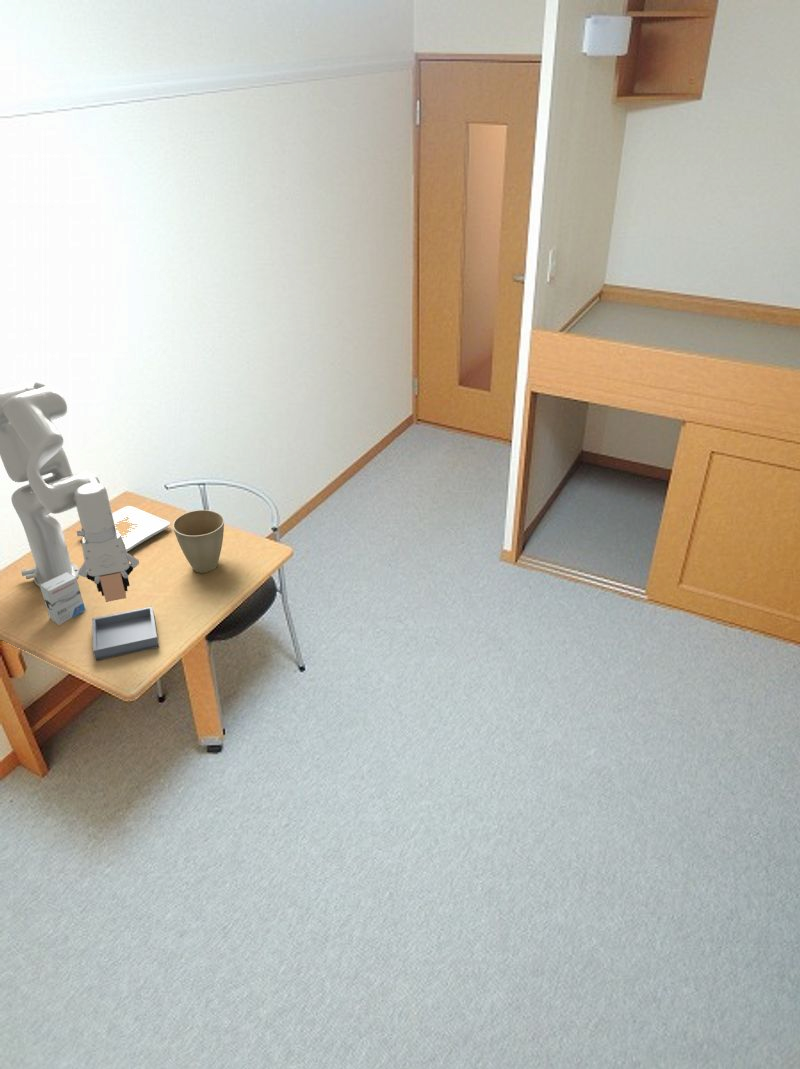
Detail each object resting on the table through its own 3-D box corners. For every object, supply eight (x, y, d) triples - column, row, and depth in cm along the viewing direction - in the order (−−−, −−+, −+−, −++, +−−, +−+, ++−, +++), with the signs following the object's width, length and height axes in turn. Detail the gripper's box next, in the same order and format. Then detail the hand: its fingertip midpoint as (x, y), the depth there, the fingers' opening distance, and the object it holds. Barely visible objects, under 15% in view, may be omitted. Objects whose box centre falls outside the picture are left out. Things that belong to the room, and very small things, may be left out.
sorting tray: (95, 660, 196) (93, 650, 194) (94, 628, 207) (91, 618, 205) (159, 647, 201) (156, 637, 199) (154, 615, 212) (152, 606, 210)
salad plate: (173, 530, 251) (172, 521, 249) (123, 560, 235) (121, 551, 234) (130, 512, 260) (128, 503, 258) (78, 540, 245) (76, 531, 243)
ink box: (76, 603, 216) (67, 570, 210) (86, 610, 214) (76, 577, 207) (49, 618, 211) (38, 584, 204) (58, 625, 208) (47, 591, 202)
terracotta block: (106, 602, 193) (99, 576, 189) (105, 591, 197) (98, 566, 193) (126, 598, 195) (120, 573, 190) (125, 587, 199) (119, 562, 194)
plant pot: (192, 586, 224) (184, 541, 215) (173, 562, 234) (165, 519, 225) (238, 569, 231) (232, 525, 223) (217, 547, 241) (211, 504, 233)
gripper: (62, 545, 180) (80, 605, 190) (136, 533, 185) (149, 592, 195) (63, 530, 186) (79, 589, 196) (134, 518, 191) (147, 576, 201)
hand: (114, 589), depth 195 cm, fingers closed on terracotta block, 5 cm apart
